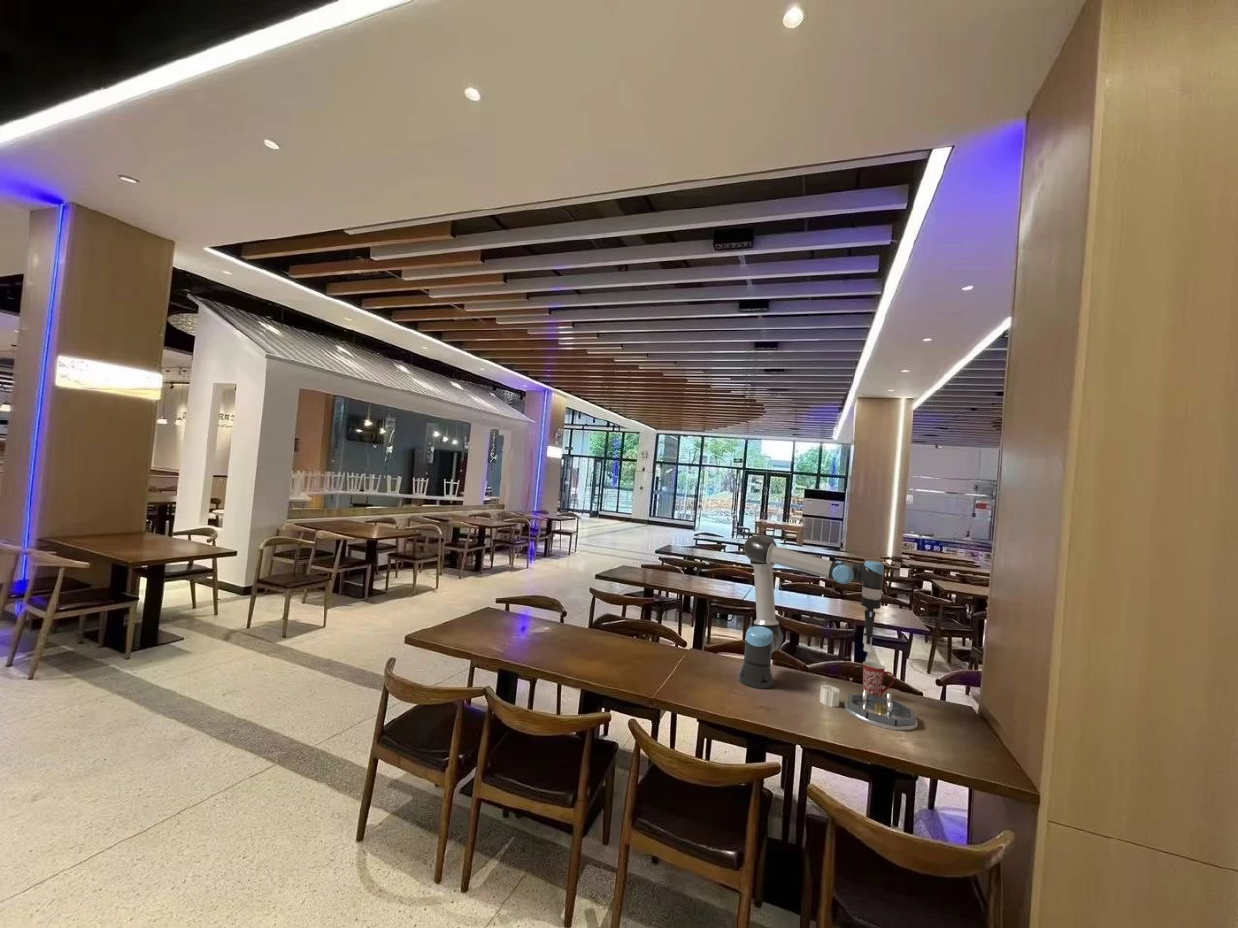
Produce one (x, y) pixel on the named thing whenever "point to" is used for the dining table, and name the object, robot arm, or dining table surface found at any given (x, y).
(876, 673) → the mug
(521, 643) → the dining table surface
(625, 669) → the dining table surface
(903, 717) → the tray
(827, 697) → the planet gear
